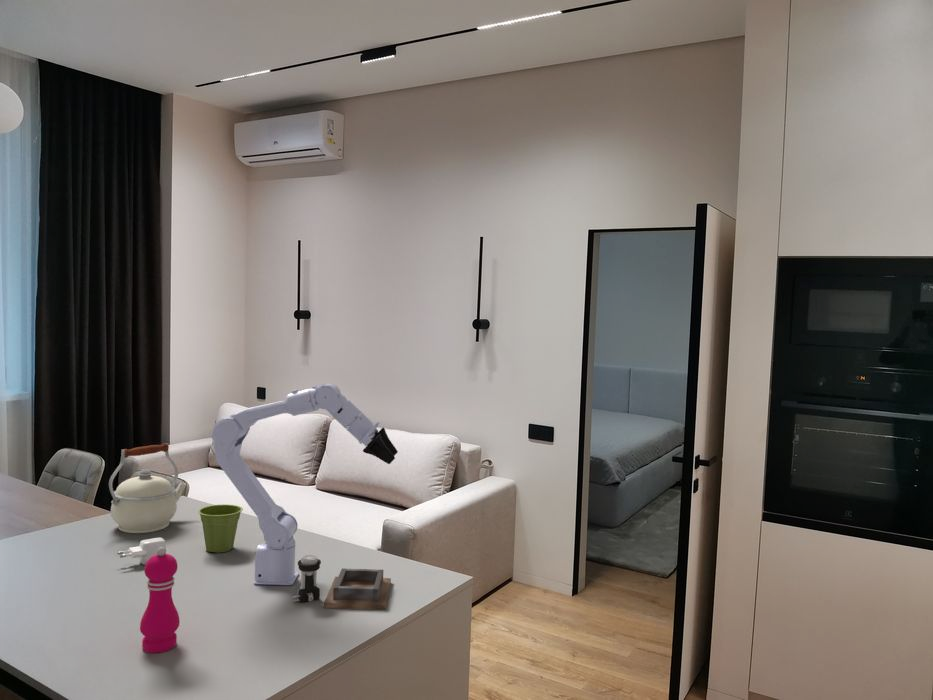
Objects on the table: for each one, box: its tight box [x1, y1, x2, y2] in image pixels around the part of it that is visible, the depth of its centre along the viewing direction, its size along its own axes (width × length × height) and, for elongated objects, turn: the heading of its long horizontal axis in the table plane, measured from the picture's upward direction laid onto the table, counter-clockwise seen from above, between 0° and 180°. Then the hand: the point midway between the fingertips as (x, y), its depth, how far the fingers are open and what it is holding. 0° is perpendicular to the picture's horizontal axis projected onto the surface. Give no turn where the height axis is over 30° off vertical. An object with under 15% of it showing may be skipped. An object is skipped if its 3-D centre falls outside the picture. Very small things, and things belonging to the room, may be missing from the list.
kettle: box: [108, 442, 187, 534], centre depth 212 cm, size 25×18×25 cm
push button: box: [291, 554, 322, 603], centre depth 162 cm, size 7×5×10 cm
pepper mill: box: [139, 547, 180, 654], centre depth 137 cm, size 7×7×20 cm
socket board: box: [323, 568, 392, 610], centre depth 166 cm, size 14×16×4 cm
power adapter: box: [117, 537, 167, 566], centre depth 180 cm, size 11×5×6 cm, turn 129°
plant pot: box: [197, 504, 243, 554], centre depth 194 cm, size 12×12×11 cm
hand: (393, 458), depth 173 cm, fingers open, 7 cm apart
